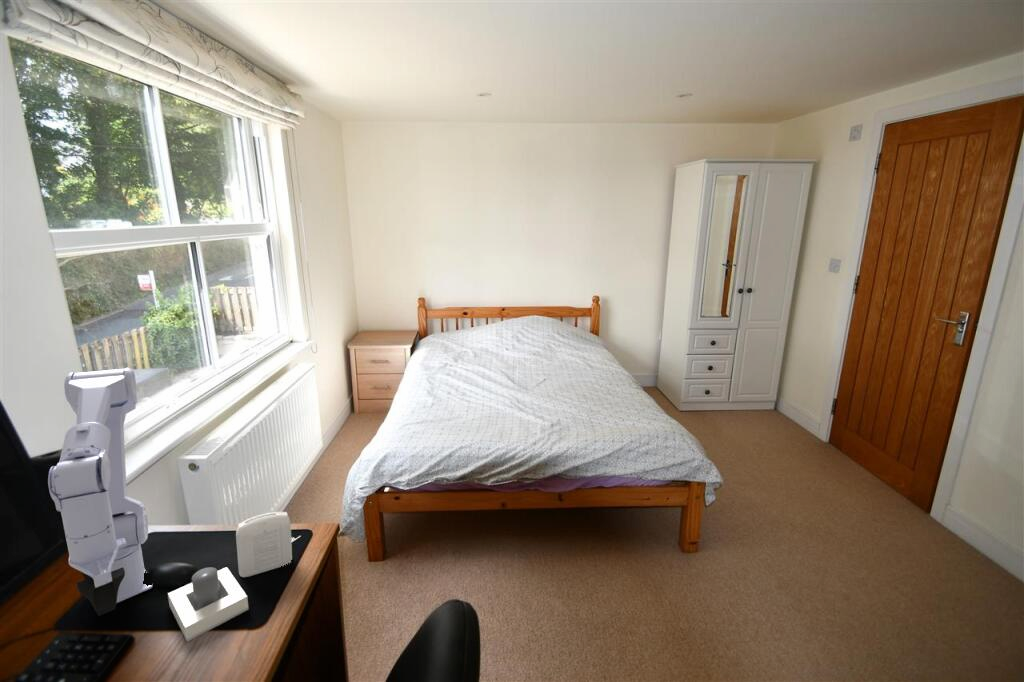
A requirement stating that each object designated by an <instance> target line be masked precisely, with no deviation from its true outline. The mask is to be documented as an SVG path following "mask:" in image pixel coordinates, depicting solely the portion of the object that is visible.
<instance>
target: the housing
mask: <svg viewBox="0 0 1024 682" xmlns="http://www.w3.org/2000/svg"><path fill="white" fill-rule="evenodd" d="M217 573H218V581H219V589H220V597H221V599H220V600H218V601H216V602H214V603H212V604H210V605H208V606H206V607H204V608H202V609H200V610H198V611H196V606H195V599H194V592H193V585H192V582H190V583H187V584H185V585H184V586H181V587H179V588H177V589H175V590H172V591H170V592H167V599H168V604H169V609H170V611H171V612H172V614H173V617H174V619H175V620H176V622H177V625H178V627H179V628H180V631H181V632H182V634H183V637H184V639H185V640H186V642H189V641H191V640H193V639H195V638H197V637H199V636H201V635H203V634H205V633H206V632H208V631H210V630H213V629H214V628H217V627H218V626H220V625H222V624H224V623H227V621H230V620H231V619H234V618H236V617H237V616H240V615H241V614H243V613H245V612H246V611H249V601H248V600H249V599H248V598H249V597H248V595H247V594H246V592H245V590H244V589H243V588H242V587H241V585H240V584H239V582H238V580H237V579H236V578H235V576H234V575H233V574H232V572H231V570H230V569H229V568H228V567H223V568H221V569H219V570H217Z"/></svg>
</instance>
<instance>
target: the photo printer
mask: <svg viewBox="0 0 1024 682" xmlns="http://www.w3.org/2000/svg"><path fill="white" fill-rule="evenodd" d="M291 526H292V525H291V520H290V517H289V515H288V512H287V511H273V512H267V513H261V514H259V515H255V516H252V517H250V518H248V519H245V520H244V521H241V522H240V523H238V524H237V529H236V531H235V539H236V540H235V541H236V553H237V555H236V556H237V565H238V575H239V576H240V577H242V578H247V577H252V576H255V575H258V574H261V573H265V572H268V571H271V570H275V569H278V568H281V566H282V567H285V566H287V565H289V564H291V563H292V561H291V560H293V550H292V549H293V546H292V545H293V542H292V529H291V528H292V527H291ZM288 563H289V564H288ZM286 564H287V565H286ZM284 565H285V566H284Z"/></svg>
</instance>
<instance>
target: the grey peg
mask: <svg viewBox="0 0 1024 682" xmlns="http://www.w3.org/2000/svg"><path fill="white" fill-rule="evenodd" d="M217 571H218V569H217V568H216V567H204V568H201V569H199V570H197V571H196V572H195V573H193V575H192V576H191V583H192V585H193V592H194V599H195V606H196V611H198V610H200V609H202V608H204V607H206V606H208V605H210V604H212V603H214V602H216V601H218V600H220V599H221V597H220V589H219V581H218V573H217Z"/></svg>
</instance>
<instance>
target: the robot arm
mask: <svg viewBox="0 0 1024 682" xmlns="http://www.w3.org/2000/svg"><path fill="white" fill-rule="evenodd" d="M64 396H65V398H66V401H67V402H68V403H69V405H70V407H71V409H72V410H73V412H75V414H76V424H75V425H74V426H72V427H71V428H69V429H68V430H67V431H66V433H65V435H64V440H63V445H62V449H61V453H60V458H59V460H58V461H59V462H57V464H56V465H52V466H51V467H50V468H49V471H48V475H47V476H48V478H47V484H48V485H47V486H48V490H49V494H50V497H51V499H52V501H53V502H54V505H55V509H56V511H57V512H60V514H61V518H62V519H61V520H62V525H63V530H64V535H65V541H66V544H67V550H68V565H69V566H70V567H71V568H73V569H75V570H77V571H79V572H81V574H82V577H83V580H80V581H78V582H76V584H75V585H76V587H77V591H78V592H79V594H81V595H82V596H84V597H86V598H87V599H88V600H89V602H90V603H91V605H92V607H93V609H94V611H95V612H96V614H97V615H98V617H100V616H103V615H105V614H107V613H109V612H113V611H114V610H116V607H117V604H118V603H121V602H122V601H125V600H126V599H129V598H132V597H135V596H136V595H139V594H141V593H143V592H146V591H148V590H150V589H152V588H153V584H152V585H148V586H147V585H146V584H143V581H144V573H145V571H146V568H145V565H144V557H143V551H142V546H141V545H143V544H145V542H146V541H147V540H148V537H149V522H148V516H147V515H148V514H147V511H146V506H145V505H144V503H143V502H142V501H139V500H137V499H135V498H132V497H129V496H128V488H127V476H126V475H127V472H126V471H127V470H126V467H127V466H126V451H125V432H124V430H125V428H124V426H125V425H124V424H125V420H126V416H127V414H128V413H130V412H133V411H134V410H136V407H137V403H138V401H137V400H138V399H137V380H136V375H135V372H134V370H133V369H132V368H130V367H125V368H115V369H106V370H105V369H104V370H94V371H93V370H92V371H84V372H83V371H82V372H81V371H80V372H74V371H73V372H72V371H71V372H69V373H68V374H67V375H66V376H65V378H64ZM128 512H129V513H128ZM130 512H132V513H130ZM123 513H128V514H124V515H119V514H123ZM115 515H118V516H115ZM113 516H114V517H113Z"/></svg>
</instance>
